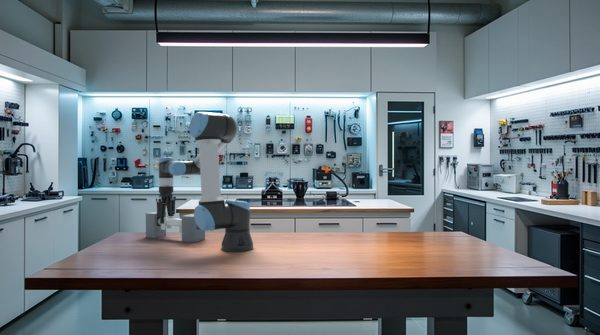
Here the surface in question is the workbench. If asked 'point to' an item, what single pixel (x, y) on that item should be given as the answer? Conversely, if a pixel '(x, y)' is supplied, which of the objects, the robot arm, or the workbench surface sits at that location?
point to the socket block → (153, 226)
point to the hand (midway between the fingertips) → (166, 228)
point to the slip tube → (171, 222)
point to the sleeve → (191, 229)
